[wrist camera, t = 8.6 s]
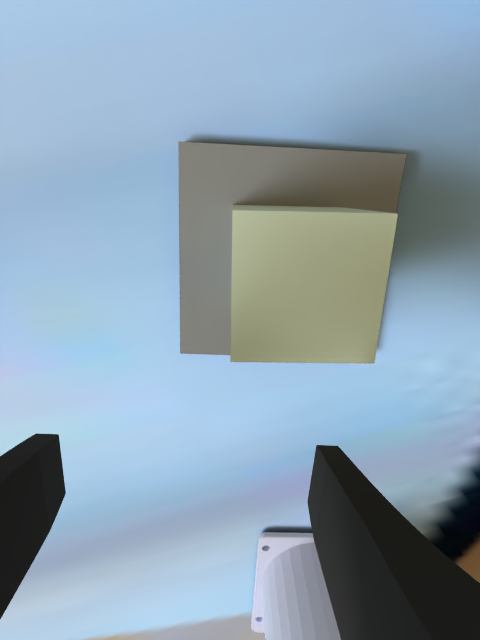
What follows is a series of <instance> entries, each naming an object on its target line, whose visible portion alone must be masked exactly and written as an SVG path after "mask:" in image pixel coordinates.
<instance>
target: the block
mask: <svg viewBox="0 0 480 640" xmlns="http://www.w3.org/2000/svg"><path fill="white" fill-rule="evenodd" d="M397 217H398V214H396V213H388V212H379V211H370V210H362V209H353V208H344V207H311V206H265V205H233V209H232V283H231V358H230V362H286V363H374V362H375V356H376V349H377V343H378V337H379V331H380V324H381V318H382V312H383V305H384V299H385V293H386V287H387V280H388V274H389V268H390V261H391V255H392V249H393V243H394V236H395V230H396V224H397Z"/></svg>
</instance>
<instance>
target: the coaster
mask: <svg viewBox="0 0 480 640" xmlns="http://www.w3.org/2000/svg"><path fill="white" fill-rule="evenodd" d="M406 155H407V154H398V153H379V152H361V151H343V150H324V149H306V148H288V147H269V146H251V145H232V144H214V143H196V142H179V251H180V353H185V354H214V355H231V283H232V209H233V205H265V206H311V207H344V208H353V209H362V210H370V211H379V212H388V213H396V210H397V204H398V199H399V193H400V188H401V182H402V177H403V171H404V166H405V160H406Z"/></svg>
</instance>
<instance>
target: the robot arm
mask: <svg viewBox="0 0 480 640" xmlns="http://www.w3.org/2000/svg"><path fill="white" fill-rule="evenodd" d="M64 496H65V484H64V476H63V468H62V459H61V451H60V443H59V435H57V434H35V435H33V436H31V437H30V438H28V439H26V440H25V441H23V442H22V443H20V444H18V445H17V446H15V447H14V448H12V449H11V450H9V451H8V452H6V453H5V454H3V455H2V456H0V619H1V617H2V615H3V614H4V612H5V610H6V608H7V607H8V605H9V603H10V601H11V600H12V598H13V596H14V594H15V592H16V591H17V589H18V587H19V585H20V584H21V582H22V580H23V578H24V577H25V575H26V573H27V571H28V569H29V568H30V566H31V564H32V562H33V561H34V559H35V557H36V555H37V553H38V552H39V550H40V548H41V546H42V544H43V543H44V541H45V539H46V537H47V535H48V533H49V532H50V529H51V527H52V525H53V522H54V520H55V518H56V516H57V513H58V511H59V508H60V506H61V503H62V501H63V498H64ZM308 508H309V514H310V521H311V527H312V533H282V532H264V533H262V534H260V535H259V538H258V550H257V562H256V573H255V585H254V597H253V608H252V620H251V628H252V630H253V631H254V632H263V633H264V632H265V639H266V640H480V583H479V582H477V581H476V580H475V579H473V578H472V577H471V576H470V575H469V574H467V573H466V572H465V571H464V570H463V569H461V568H460V567H459V566H458V565H457V564H456V563H454V562H453V561H452V560H451V559H450V558H448V557H447V556H446V555H445V554H444V553H442V552H441V551H440V550H439V549H438V548H437V547H436V546H434V545H433V544H432V543H431V542H430V541H429V540H428V539H427V538H426V537H425V536H423V535H422V534H421V533H420V532H419V531H418V530H417V529H416V528H415V527H414V526H413V525H412V524H411V523H410V522H409V521H408V520H407V519H406V518H405V517H404V516H403V515H402V514H401V513H400V512H399V511H398V510H397V509H396V508H395V507H394V506H393V505H392V504H391V503H390V502H389V501H388V500H387V499H386V498H385V497H384V496H383V495H382V494H381V493H380V492H379V491H378V490H377V489H376V488H375V487H374V486H373V484H372V483H371V482H370V481H369V480H368V479H367V478H366V477H365V476H364V475H363V473H362V472H361V471H360V470H359V469H358V468H357V467H356V466H355V465H354V463H353V462H352V461H351V460H350V459H349V458H348V457H347V456H346V454H345V453H344V452H343V451H342V450H341V449H340V448H339V447H338V446H325V445H317V446H316V452H315V458H314V465H313V471H312V477H311V484H310V490H309V496H308ZM265 545H267V546H265Z"/></svg>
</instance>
